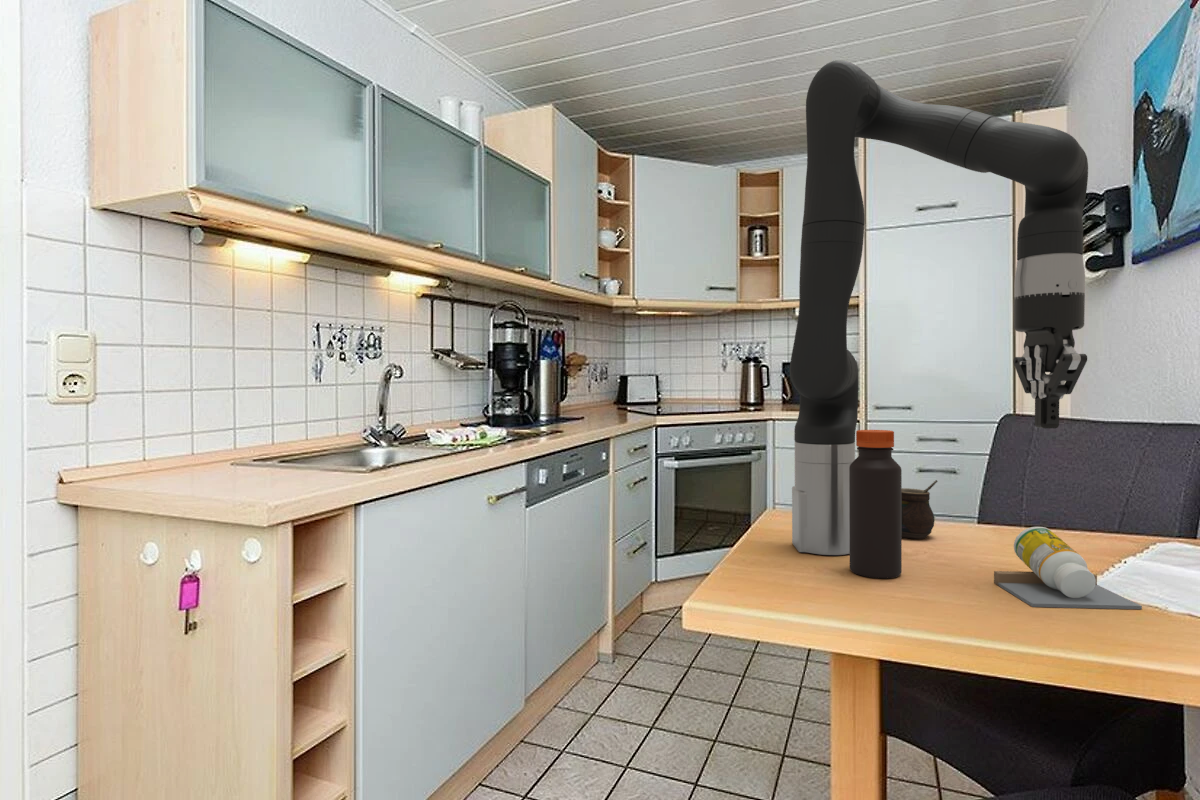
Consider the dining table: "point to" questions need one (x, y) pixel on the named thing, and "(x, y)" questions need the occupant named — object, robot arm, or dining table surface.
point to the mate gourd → (916, 513)
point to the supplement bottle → (1054, 562)
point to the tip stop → (1057, 593)
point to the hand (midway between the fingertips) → (1046, 427)
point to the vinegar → (875, 507)
